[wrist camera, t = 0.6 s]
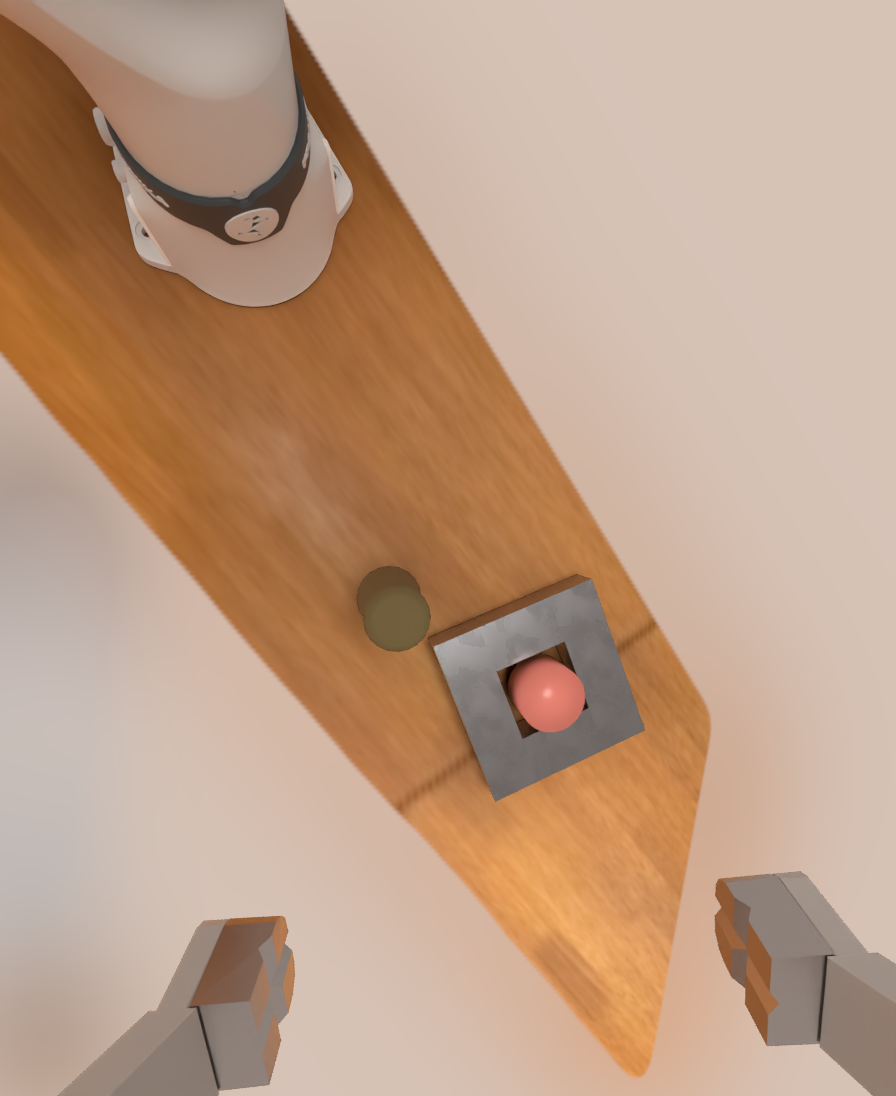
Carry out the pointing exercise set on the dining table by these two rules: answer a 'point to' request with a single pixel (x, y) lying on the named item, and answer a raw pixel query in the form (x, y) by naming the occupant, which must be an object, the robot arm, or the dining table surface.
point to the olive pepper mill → (393, 609)
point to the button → (546, 693)
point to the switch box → (519, 633)
